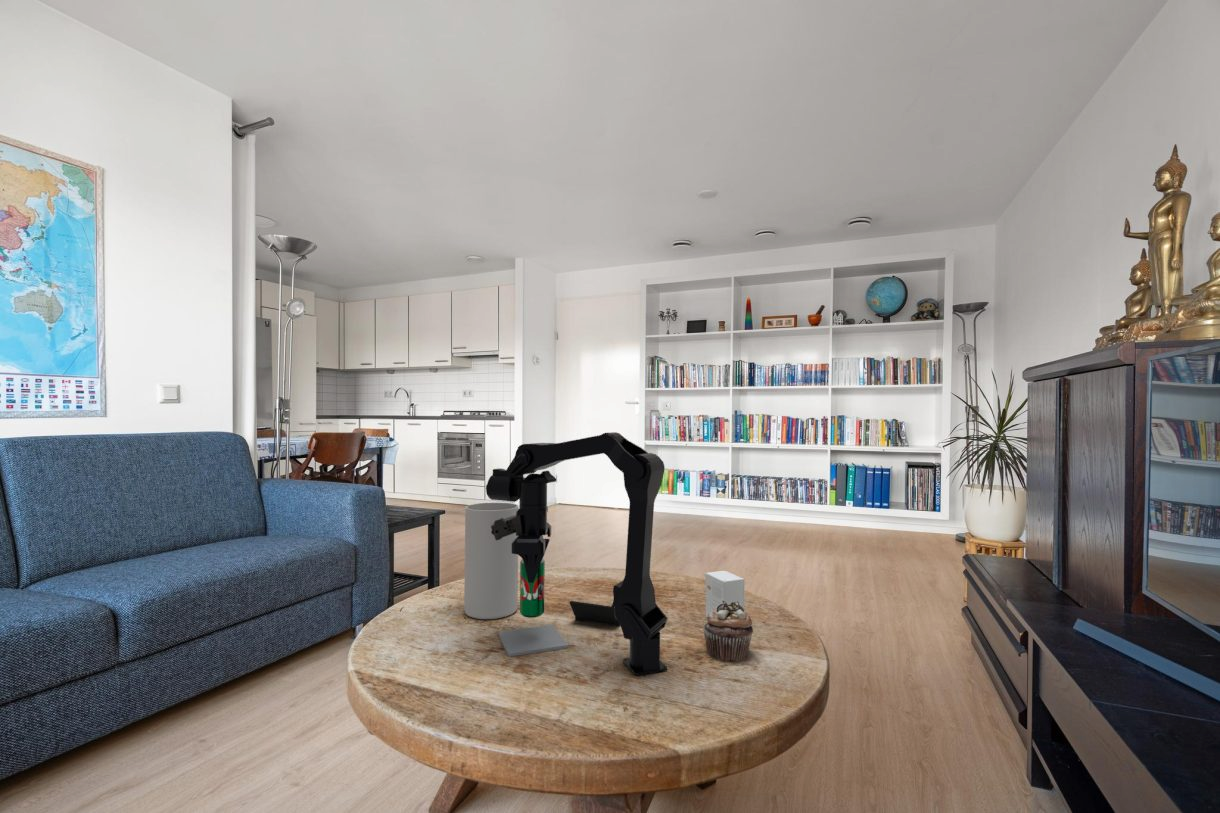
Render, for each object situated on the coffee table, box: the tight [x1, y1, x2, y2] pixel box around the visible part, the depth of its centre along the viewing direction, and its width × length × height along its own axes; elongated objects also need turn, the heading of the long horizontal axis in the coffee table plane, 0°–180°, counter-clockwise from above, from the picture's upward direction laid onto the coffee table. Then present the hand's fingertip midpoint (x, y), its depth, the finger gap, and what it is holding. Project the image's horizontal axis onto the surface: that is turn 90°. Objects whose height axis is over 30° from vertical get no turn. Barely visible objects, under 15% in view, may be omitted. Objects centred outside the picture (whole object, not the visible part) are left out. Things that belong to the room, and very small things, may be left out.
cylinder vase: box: [463, 501, 519, 620], centre depth 135 cm, size 12×12×25 cm
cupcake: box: [702, 601, 754, 662], centre depth 112 cm, size 10×10×10 cm
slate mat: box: [497, 624, 569, 658], centre depth 117 cm, size 12×12×1 cm
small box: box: [704, 570, 746, 618], centre depth 130 cm, size 8×6×10 cm
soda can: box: [519, 558, 546, 619], centre depth 118 cm, size 5×5×12 cm
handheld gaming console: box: [569, 600, 621, 628], centre depth 129 cm, size 12×7×10 cm
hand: (532, 578), depth 118 cm, fingers closed on soda can, 5 cm apart
